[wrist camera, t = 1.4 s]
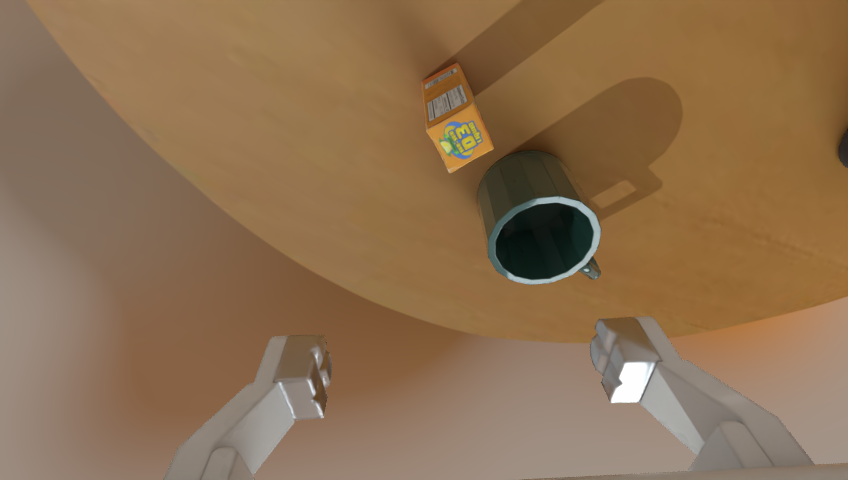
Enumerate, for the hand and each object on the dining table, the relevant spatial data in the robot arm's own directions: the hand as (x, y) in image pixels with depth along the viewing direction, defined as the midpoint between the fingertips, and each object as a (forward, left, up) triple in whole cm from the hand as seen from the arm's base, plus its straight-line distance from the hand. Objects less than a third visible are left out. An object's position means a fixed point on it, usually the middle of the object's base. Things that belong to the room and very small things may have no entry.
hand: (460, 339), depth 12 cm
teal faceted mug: (-8, +11, -24) cm, 28 cm away
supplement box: (-1, 0, -24) cm, 24 cm away
